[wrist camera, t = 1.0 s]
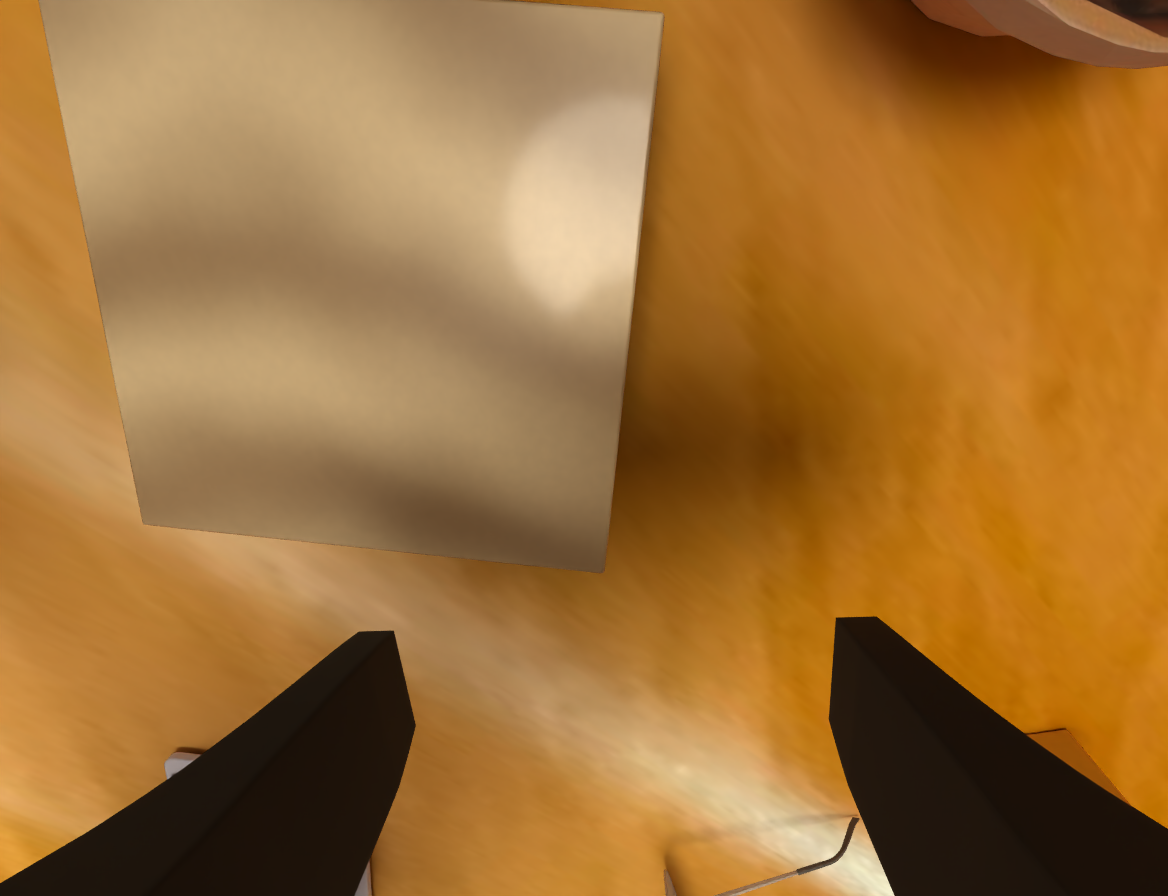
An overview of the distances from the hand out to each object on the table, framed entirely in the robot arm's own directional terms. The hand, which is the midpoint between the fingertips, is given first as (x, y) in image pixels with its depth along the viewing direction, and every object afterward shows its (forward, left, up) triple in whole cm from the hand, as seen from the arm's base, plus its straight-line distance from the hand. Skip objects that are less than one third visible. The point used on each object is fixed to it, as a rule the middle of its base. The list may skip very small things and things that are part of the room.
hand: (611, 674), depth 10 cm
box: (+5, +6, -10) cm, 12 cm away
